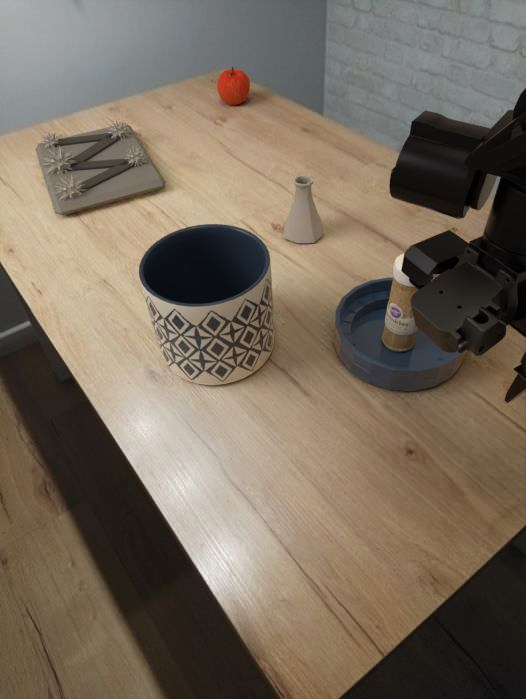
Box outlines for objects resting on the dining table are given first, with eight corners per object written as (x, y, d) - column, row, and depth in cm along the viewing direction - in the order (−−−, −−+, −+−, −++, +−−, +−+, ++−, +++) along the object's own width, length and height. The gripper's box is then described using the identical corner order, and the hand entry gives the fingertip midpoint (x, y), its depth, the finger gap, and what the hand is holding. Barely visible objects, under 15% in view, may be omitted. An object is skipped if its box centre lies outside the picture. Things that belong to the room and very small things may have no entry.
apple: (231, 93, 131) (228, 59, 125) (257, 99, 128) (255, 64, 122) (212, 104, 127) (207, 70, 121) (238, 111, 124) (234, 76, 118)
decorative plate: (169, 191, 101) (162, 156, 95) (58, 221, 95) (44, 186, 90) (131, 130, 120) (123, 99, 114) (37, 153, 114) (24, 121, 109)
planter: (188, 406, 65) (166, 326, 55) (145, 330, 75) (120, 249, 64) (296, 357, 70) (295, 274, 59) (242, 291, 79) (234, 210, 69)
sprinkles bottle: (375, 345, 70) (388, 266, 60) (390, 324, 72) (404, 246, 62) (407, 358, 68) (425, 279, 58) (421, 337, 70) (441, 258, 60)
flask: (328, 223, 90) (331, 170, 83) (318, 248, 86) (319, 194, 78) (289, 218, 92) (288, 165, 85) (276, 241, 88) (274, 188, 80)
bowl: (490, 359, 68) (500, 335, 64) (385, 414, 63) (390, 391, 59) (405, 286, 78) (410, 262, 75) (309, 329, 73) (310, 305, 70)
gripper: (363, 209, 42) (349, 340, 54) (550, 354, 31) (481, 480, 42) (466, 170, 45) (432, 301, 57) (670, 288, 34) (576, 422, 46)
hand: (473, 367), depth 50 cm, fingers open, 9 cm apart
